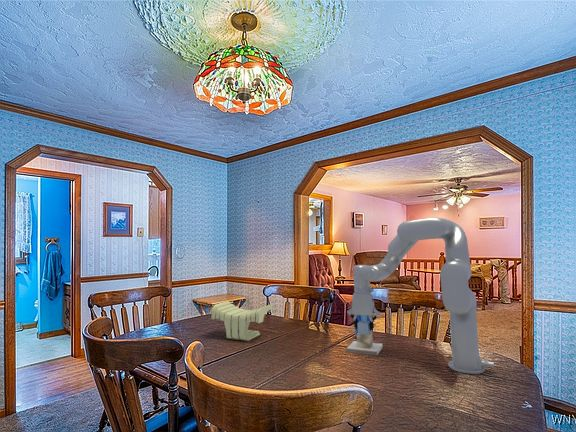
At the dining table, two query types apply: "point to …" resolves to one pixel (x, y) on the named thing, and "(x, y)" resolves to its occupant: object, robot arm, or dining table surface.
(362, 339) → the maple cube
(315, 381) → the dining table surface
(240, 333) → the slatted curved stool
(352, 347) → the base board
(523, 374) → the dining table surface
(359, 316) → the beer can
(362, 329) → the blue cube
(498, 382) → the dining table surface
